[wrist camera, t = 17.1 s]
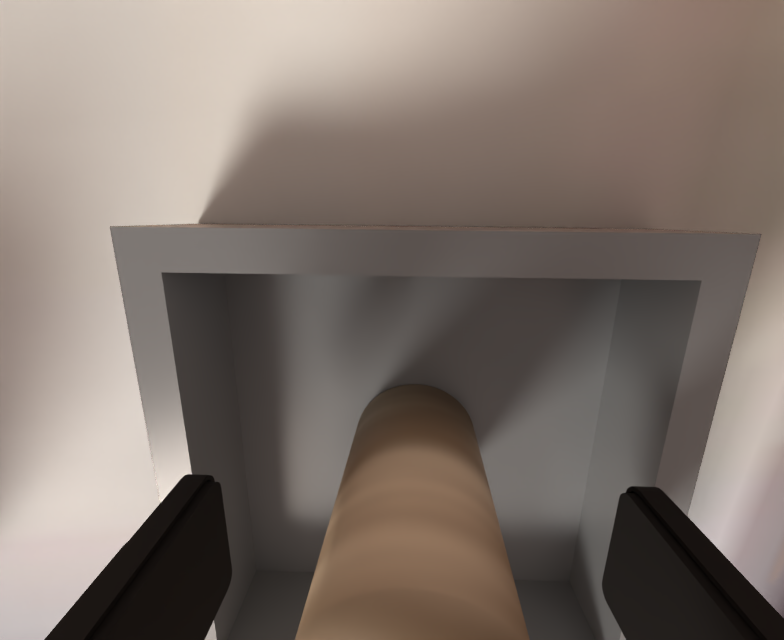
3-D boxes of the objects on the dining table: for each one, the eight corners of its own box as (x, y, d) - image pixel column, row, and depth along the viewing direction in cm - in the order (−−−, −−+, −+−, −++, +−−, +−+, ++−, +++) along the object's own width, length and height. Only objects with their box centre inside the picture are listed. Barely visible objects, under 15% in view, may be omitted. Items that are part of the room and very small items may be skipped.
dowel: (356, 380, 12) (284, 577, 6) (480, 387, 12) (557, 600, 5) (356, 484, 13) (293, 752, 7) (469, 492, 13) (522, 780, 6)
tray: (196, 223, 12) (109, 226, 8) (652, 228, 11) (761, 234, 8) (239, 575, 15) (191, 679, 12) (584, 588, 15) (639, 698, 12)
